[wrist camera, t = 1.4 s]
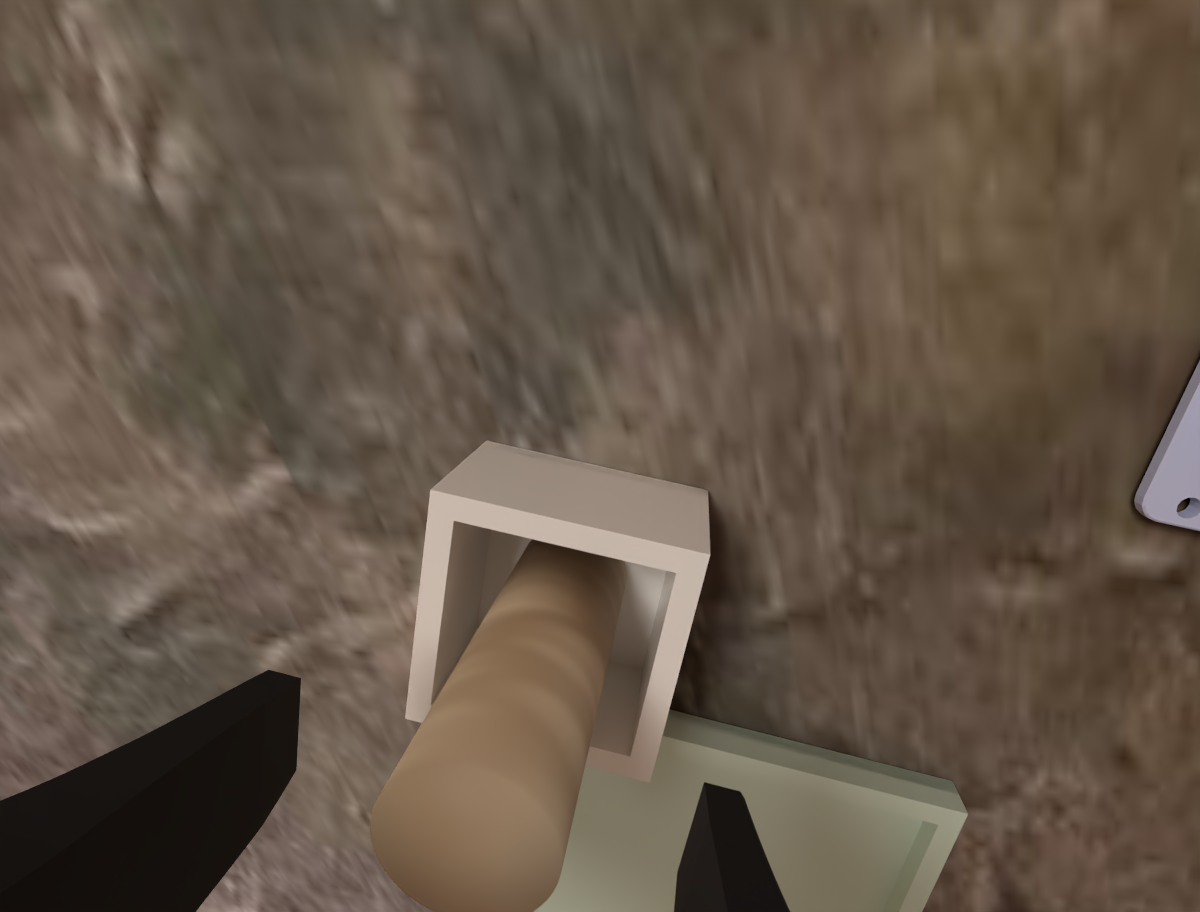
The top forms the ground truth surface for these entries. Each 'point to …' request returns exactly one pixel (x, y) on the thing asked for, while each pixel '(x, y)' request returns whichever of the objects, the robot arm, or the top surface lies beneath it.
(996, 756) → the top surface
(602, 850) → the tray
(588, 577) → the dowel
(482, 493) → the open box
